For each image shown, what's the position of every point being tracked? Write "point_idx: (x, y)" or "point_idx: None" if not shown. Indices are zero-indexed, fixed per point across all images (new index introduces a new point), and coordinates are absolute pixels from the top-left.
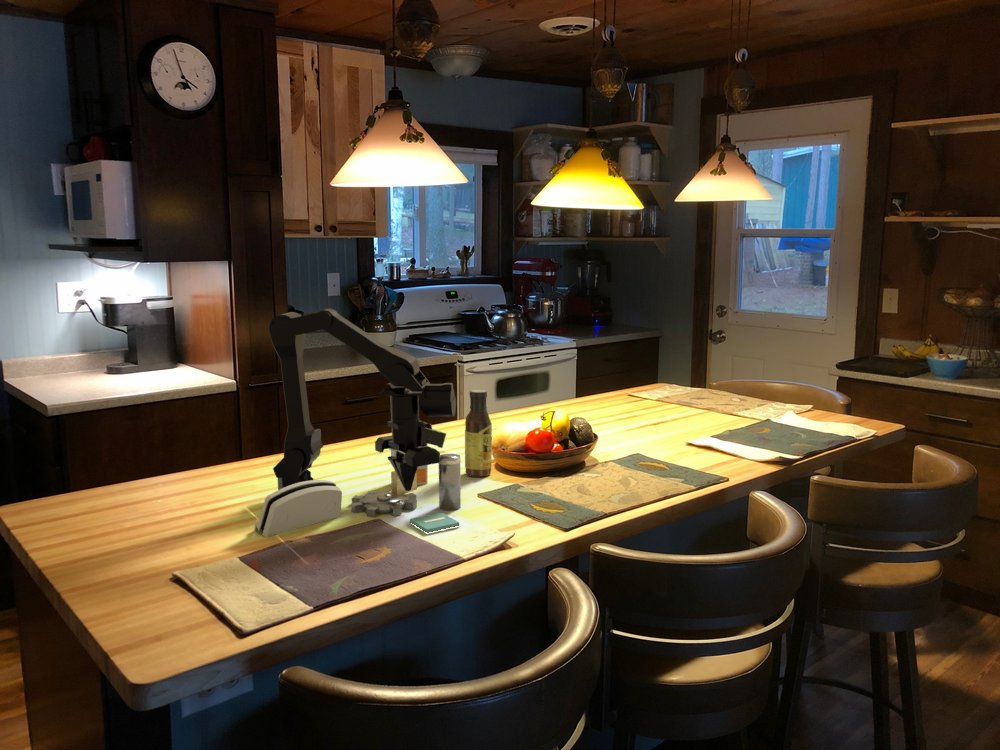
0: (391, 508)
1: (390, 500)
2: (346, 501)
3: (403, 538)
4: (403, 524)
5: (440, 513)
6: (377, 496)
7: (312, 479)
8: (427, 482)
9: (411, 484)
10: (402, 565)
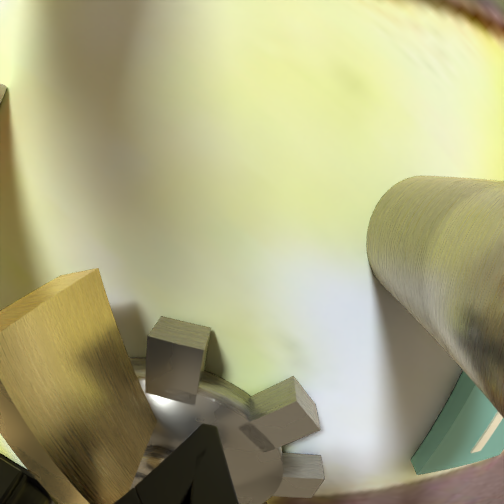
0: (293, 495)
1: None
2: None
3: (448, 486)
4: (389, 470)
5: None
6: None
7: (2, 501)
8: (2, 85)
9: (223, 459)
10: (498, 496)
